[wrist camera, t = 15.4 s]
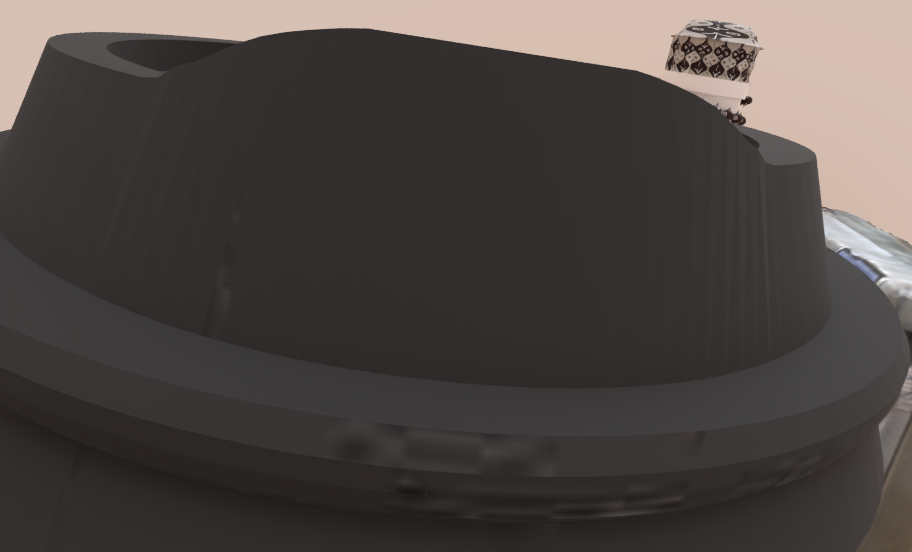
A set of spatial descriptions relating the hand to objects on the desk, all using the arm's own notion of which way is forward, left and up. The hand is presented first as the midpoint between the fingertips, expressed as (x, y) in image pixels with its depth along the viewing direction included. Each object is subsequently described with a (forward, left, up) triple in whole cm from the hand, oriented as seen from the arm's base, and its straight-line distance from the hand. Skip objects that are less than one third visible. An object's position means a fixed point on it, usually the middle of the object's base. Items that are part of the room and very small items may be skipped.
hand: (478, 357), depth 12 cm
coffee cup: (-3, -3, -9) cm, 10 cm away
